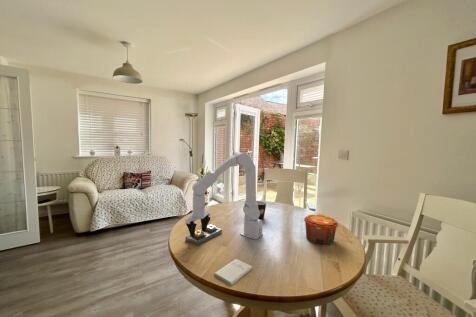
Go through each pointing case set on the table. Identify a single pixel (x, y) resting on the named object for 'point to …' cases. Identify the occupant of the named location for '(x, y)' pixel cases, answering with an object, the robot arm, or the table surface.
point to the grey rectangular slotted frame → (205, 238)
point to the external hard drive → (233, 271)
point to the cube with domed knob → (211, 228)
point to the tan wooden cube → (198, 234)
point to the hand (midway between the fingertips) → (198, 233)
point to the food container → (320, 229)
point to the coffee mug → (261, 209)
